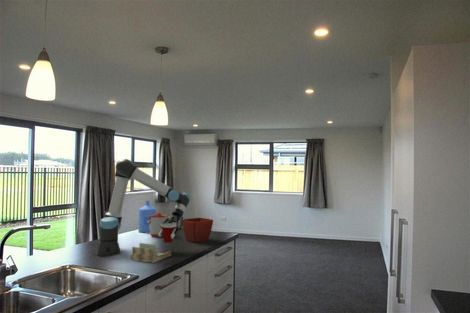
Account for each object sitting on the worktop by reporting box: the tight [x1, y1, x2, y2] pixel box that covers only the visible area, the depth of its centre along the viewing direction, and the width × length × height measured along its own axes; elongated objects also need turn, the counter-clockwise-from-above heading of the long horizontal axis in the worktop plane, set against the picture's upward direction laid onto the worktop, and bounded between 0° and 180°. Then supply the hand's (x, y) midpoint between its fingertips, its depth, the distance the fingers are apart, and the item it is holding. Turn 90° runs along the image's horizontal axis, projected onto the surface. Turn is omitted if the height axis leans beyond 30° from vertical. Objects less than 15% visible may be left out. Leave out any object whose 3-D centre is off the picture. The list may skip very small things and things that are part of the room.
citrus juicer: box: [147, 212, 168, 238], centre depth 296 cm, size 16×17×20 cm
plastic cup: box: [161, 223, 176, 244], centre depth 239 cm, size 11×11×12 cm
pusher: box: [138, 242, 159, 257], centre depth 219 cm, size 14×1×8 cm, turn 67°
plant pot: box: [182, 217, 214, 244], centre depth 276 cm, size 19×19×17 cm
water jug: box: [137, 200, 157, 234], centre depth 317 cm, size 16×16×28 cm
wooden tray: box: [130, 246, 172, 264], centre depth 221 cm, size 17×19×8 cm
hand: (165, 236), depth 236 cm, fingers closed on plastic cup, 9 cm apart
